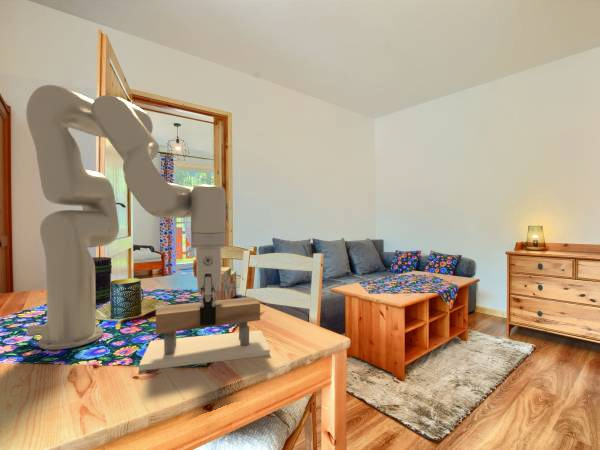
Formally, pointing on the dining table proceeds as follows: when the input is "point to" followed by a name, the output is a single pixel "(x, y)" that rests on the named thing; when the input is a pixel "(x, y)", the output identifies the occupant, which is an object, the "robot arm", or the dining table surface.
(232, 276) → the stack of blocks
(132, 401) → the dining table surface
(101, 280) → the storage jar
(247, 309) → the shelf board
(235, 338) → the peg stand
